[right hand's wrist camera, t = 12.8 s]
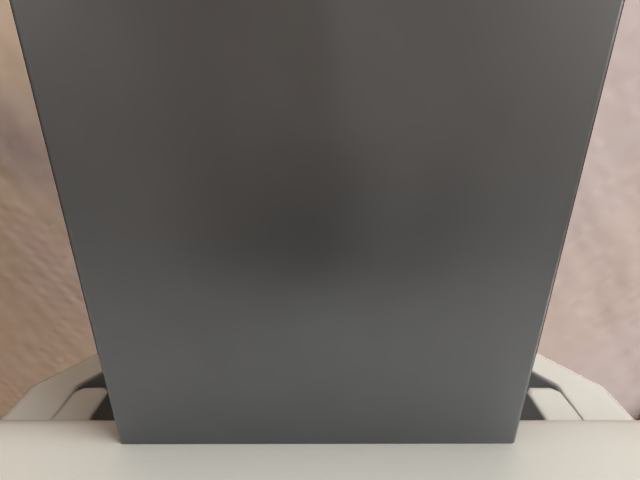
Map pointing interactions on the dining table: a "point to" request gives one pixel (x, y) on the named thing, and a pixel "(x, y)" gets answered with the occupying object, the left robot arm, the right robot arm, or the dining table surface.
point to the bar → (317, 205)
